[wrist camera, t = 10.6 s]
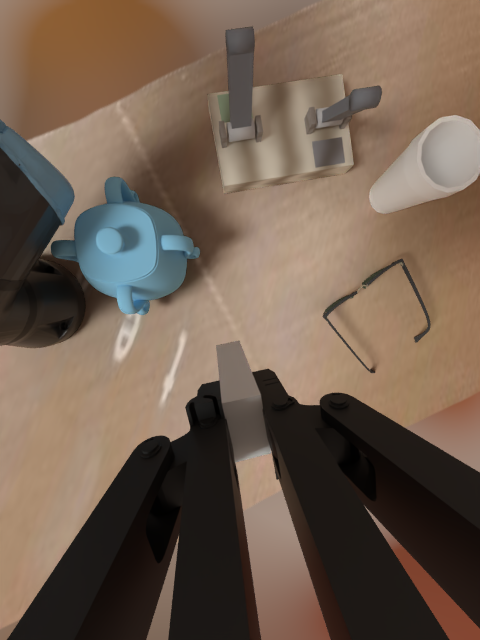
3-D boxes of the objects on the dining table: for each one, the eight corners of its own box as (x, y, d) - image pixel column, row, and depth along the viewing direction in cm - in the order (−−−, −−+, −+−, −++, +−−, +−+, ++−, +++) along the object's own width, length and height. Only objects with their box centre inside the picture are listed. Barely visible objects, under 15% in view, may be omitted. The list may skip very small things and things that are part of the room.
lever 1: (229, 146, 38) (224, 38, 27) (227, 134, 39) (220, 25, 27) (254, 142, 38) (259, 33, 27) (251, 130, 39) (255, 20, 27)
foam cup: (417, 178, 44) (495, 128, 31) (401, 228, 45) (472, 200, 32) (369, 162, 44) (429, 105, 31) (354, 214, 44) (407, 179, 31)
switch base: (223, 193, 43) (223, 178, 37) (208, 108, 41) (206, 80, 36) (344, 173, 43) (361, 156, 38) (334, 89, 42) (349, 59, 37)
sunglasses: (360, 381, 48) (375, 391, 43) (312, 312, 46) (322, 314, 41) (428, 332, 48) (452, 336, 43) (382, 260, 46) (402, 256, 41)
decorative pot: (143, 322, 44) (107, 334, 30) (77, 254, 42) (8, 234, 29) (210, 262, 44) (204, 247, 30) (147, 191, 42) (110, 140, 28)
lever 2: (312, 129, 40) (352, 112, 29) (313, 110, 38) (354, 85, 28) (336, 126, 40) (383, 107, 29) (337, 107, 39) (387, 80, 28)
